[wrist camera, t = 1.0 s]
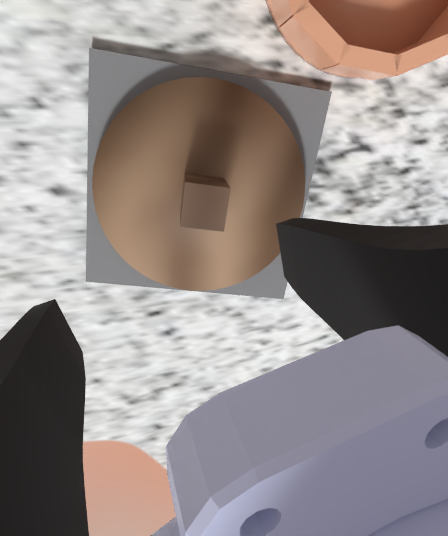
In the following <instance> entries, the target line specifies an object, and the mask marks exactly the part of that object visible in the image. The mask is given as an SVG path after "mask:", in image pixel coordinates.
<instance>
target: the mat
mask: <svg viewBox="0 0 448 536" xmlns="http://www.w3.org/2000/svg"><path fill="white" fill-rule="evenodd" d="M187 77H207V78H217V79H221V80H225V81H229V82H232V83H235V84H237V85H240V86H242V87H244V88H247V89H248V90H250V91H252V92H253V93H255V94H257V95H258V96H260V97H261V98H262V99H264V100H265V101H266V102H267V103H269V104H270V105H271V106H272V107H273V108H274V109H275V110H276V111H277V112H278V113H279V115H280V116H281V117H282V118H283V120H284V121H285V122H286V124H287V125H288V127H289V128H290V130H291V132H292V134H293V136H294V138H295V140H296V142H297V145H298V147H299V150H300V153H301V156H302V161H303V165H304V173H305V197H304V203H303V209H302V212H301V215H300V218H302V217H303V213H304V208H305V204H306V200H307V196H308V191H309V187H310V183H311V178H312V174H313V170H314V166H315V161H316V157H317V153H318V148H319V144H320V140H321V136H322V131H323V127H324V123H325V118H326V114H327V110H328V106H329V101H330V97H331V93H332V92H330V91H325V90H319V89H314V88H308V87H303V86H297V85H292V84H286V83H281V82H275V81H270V80H264V79H259V78H253V77H248V76H242V75H237V74H231V73H226V72H220V71H215V70H209V69H204V68H198V67H193V66H187V65H182V64H176V63H171V62H165V61H160V60H154V59H149V58H143V57H138V56H132V55H127V54H121V53H116V52H110V51H105V50H99V49H94V48H89V102H88V174H87V247H86V282H97V283H108V284H120V285H131V286H143V287H154V288H165V289H177V288H173V287H170V286H166V285H163V284H161V283H158V282H156V281H153V280H152V279H150V278H148V277H146V276H144V275H143V274H141V273H140V272H138V271H137V270H135V269H134V268H133V267H131V266H130V265H129V264H128V263H127V262H126V261H125V260H124V259H123V258H122V257H121V256H120V255H119V254H118V253H117V251H116V250H115V249H114V248H113V246H112V245H111V243H110V242H109V240H108V239H107V237H106V235H105V233H104V231H103V229H102V227H101V225H100V223H99V219H98V216H97V213H96V210H95V205H94V200H93V190H92V177H93V166H94V162H95V157H96V153H97V150H98V148H99V145H100V142H101V140H102V137H103V136H104V134H105V132H106V130H107V128H108V127H109V125H110V124H111V122H112V121H113V120H114V118H115V117H116V116H117V114H118V113H119V112H120V111H121V110H122V109H123V108H124V107H125V106H126V105H127V104H128V103H129V102H130V101H132V100H133V99H134V98H136V97H137V96H139V95H140V94H141V93H143V92H145V91H147V90H149V89H150V88H152V87H154V86H156V85H159V84H162V83H165V82H168V81H171V80H176V79H181V78H187ZM286 286H287V280H286V278H285V277H284V272H283V266H282V259H281V253H280V254H279V255H278V256H277V257H276V258H275V259H274V260H273V261H272V262H271V263H270V264H269V265H268V266H267V267H265V268H264V269H263V270H262V271H260V272H259V273H257V274H255V275H254V276H252V277H251V278H249V279H247V280H244V281H242V282H240V283H238V284H235V285H232V286H229V287H225V288H221V289H216V290H206V291H199V292H211V293H222V294H234V295H245V296H256V297H268V298H279V299H283V298H284V294H285V290H286ZM177 290H183V289H177ZM188 291H191V290H188Z"/></svg>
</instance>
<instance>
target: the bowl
mask: <svg viewBox="0 0 448 536" xmlns="http://www.w3.org/2000/svg"><path fill="white" fill-rule="evenodd" d="M266 3H267V6H268V9H269V12H270V15H271V17H272V19H273V21H274V23H275V25H276V27H277V29H278V31H279V32H280V34H281V35H282V37H283V38H284V40H285V42H286V43H287V44H288V45H289V46H290V47H291V49H292V50H293V51H294V52H295V53H296V54H297V55H298V56H300V57H301V58H302V59H303V60H304V61H305V62H307V63H308V64H310V65H312V66H313V67H315V68H316V69H319V70H320V71H323V72H325V73H328V74H331V75H335V76H339V77H347V78H362V79H368V80H374V79H380V78H386V77H392V76H398V75H400V74H402V73H405V72H407V71H409V70H412V69H414V68H417V67H419V66H421V65H424V64H426V63H428V62H431V61H433V60H435V59H438V58H440V57H443V56H445V55H447V54H448V0H266Z"/></svg>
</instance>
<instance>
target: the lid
mask: <svg viewBox="0 0 448 536" xmlns="http://www.w3.org/2000/svg"><path fill="white" fill-rule="evenodd" d="M92 190H93V200H94V205H95V210H96V213H97V216H98V219H99V223H100V225H101V227H102V229H103V231H104V233H105V235H106V237H107V239H108V240H109V242H110V243H111V245H112V246H113V248H114V249H115V250H116V251H117V253H118V254H119V255H120V256H121V257H122V258H123V259H124V260H125V261H126V262H127V263H128V264H129V265H130V266H131V267H133V268H134V269H135V270H137V271H138V272H140V273H141V274H143V275H144V276H146V277H148V278H150V279H152V280H153V281H156V282H158V283H161V284H163V285H166V286H170V287H173V288H177V289H183V290H191V291H206V290H216V289H221V288H225V287H229V286H232V285H235V284H238V283H240V282H242V281H244V280H247V279H249V278H251V277H252V276H254V275H255V274H257V273H259V272H260V271H262V270H263V269H264V268H265V267H267V266H268V265H269V264H270V263H271V262H272V261H273V260H274V259H275V258H276V257H277V256H278V255H279V254H280V247H279V240H278V234H277V227H276V224H277V223H280V222H283V221H286V220H289V219H292V218H300V215H301V212H302V209H303V203H304V197H305V173H304V165H303V161H302V156H301V153H300V150H299V147H298V145H297V142H296V140H295V138H294V136H293V134H292V132H291V130H290V128H289V127H288V125H287V124H286V122H285V121H284V120H283V118H282V117H281V116H280V115H279V113H278V112H277V111H276V110H275V109H274V108H273V107H272V106H271V105H270V104H269V103H267V102H266V101H265V100H264V99H262V98H261V97H260V96H258V95H257V94H255V93H253V92H252V91H250V90H248V89H247V88H244V87H242V86H240V85H237V84H235V83H232V82H229V81H225V80H221V79H217V78H207V77H187V78H181V79H176V80H171V81H168V82H165V83H162V84H159V85H156V86H154V87H152V88H150V89H149V90H147V91H145V92H143V93H141V94H140V95H139V96H137V97H136V98H134V99H133V100H132V101H130V102H129V103H128V104H127V105H126V106H125V107H124V108H123V109H122V110H121V111H120V112H119V113H118V114H117V116H116V117H115V118H114V120H113V121H112V122H111V124H110V125H109V127H108V128H107V130H106V132H105V134H104V136H103V137H102V140H101V142H100V145H99V148H98V150H97V153H96V157H95V162H94V166H93V177H92Z"/></svg>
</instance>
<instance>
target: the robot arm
mask: <svg viewBox="0 0 448 536" xmlns="http://www.w3.org/2000/svg"><path fill="white" fill-rule="evenodd" d="M276 227H277V234H278V240H279V247H280V253H281V259H282V266H283V272H284V277H285V278H286V280H287V281H288V283H289V284H290V285H291V287H292V288H293V289H294V291H295V292H296V293H297V294H298V296H299V297H300V298H301V299H302V300H303V301H304V302H305V303H306V304H307V305H308V306H309V307H310V308H311V309H312V310H313V311H314V312H315V313H317V314H318V315H319V316H320V317H321V318H322V319H323V320H324V321H325V322H326V323H327V324H328V325H329V326H330V327H331V328H332V329H333V330H334V331H335V332H337V333H338V334H339V335H340V336H341V337H342V338H343V339H344V341H342V342H340V343H337V344H335V345H332V346H330V347H328V348H325V349H323V350H320V351H318V352H316V353H313V354H311V355H309V356H306V357H304V358H301V359H299V360H297V361H294V362H292V363H290V364H287V365H285V366H282V367H280V368H278V369H275V370H273V371H271V372H268V373H266V374H263V375H261V376H259V377H256V378H254V379H252V380H249V381H247V382H244V383H242V384H240V385H237V386H235V387H233V388H230V389H228V390H225V391H223V392H221V393H219V394H217V395H216V396H214V397H213V398H211V399H210V400H208V401H207V402H205V403H204V404H202V405H201V406H199V407H198V408H196V409H195V410H193V411H192V412H190V413H189V414H187V415H186V416H185V418H184V419H183V421H182V422H181V424H180V426H179V427H178V429H177V430H176V432H175V433H174V435H173V436H172V438H171V440H170V441H169V443H168V444H167V446H166V453H167V475H168V479H169V484H170V488H171V494H172V499H173V503H174V508H175V513H176V517H174V518H173V519H172V520H171V521H169V522H168V523H167V524H165V525H164V526H163V527H161V528H160V529H159V530H157V531H156V532H155V533H153V534H152V535H151V536H448V224H447V225H433V226H411V227H408V226H372V225H359V224H349V223H341V222H332V221H325V220H317V219H307V218H292V219H289V220H286V221H283V222H280V223H277V224H276ZM85 381H86V378H85V368H84V360H83V352H82V350H81V348H80V346H79V344H78V342H77V340H76V338H75V336H74V334H73V333H72V331H71V329H70V327H69V325H68V323H67V321H66V319H65V317H64V315H63V313H62V311H61V309H60V308H59V306H58V304H57V302H56V300H55V299H54V300H51V301H48V302H45V303H42V304H39V305H36V306H34V307H33V308H31V309H30V310H29V311H28V312H27V313H26V314H25V315H24V316H23V317H22V318H21V319H20V320H19V321H18V322H17V323H16V324H15V325H14V326H13V327H12V328H11V330H10V331H9V332H8V333H7V334H6V335H5V336H4V337H3V338H2V339H1V340H0V536H89V532H88V522H87V510H86V500H85V487H84V473H83V447H82V446H83V426H84V406H85Z"/></svg>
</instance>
